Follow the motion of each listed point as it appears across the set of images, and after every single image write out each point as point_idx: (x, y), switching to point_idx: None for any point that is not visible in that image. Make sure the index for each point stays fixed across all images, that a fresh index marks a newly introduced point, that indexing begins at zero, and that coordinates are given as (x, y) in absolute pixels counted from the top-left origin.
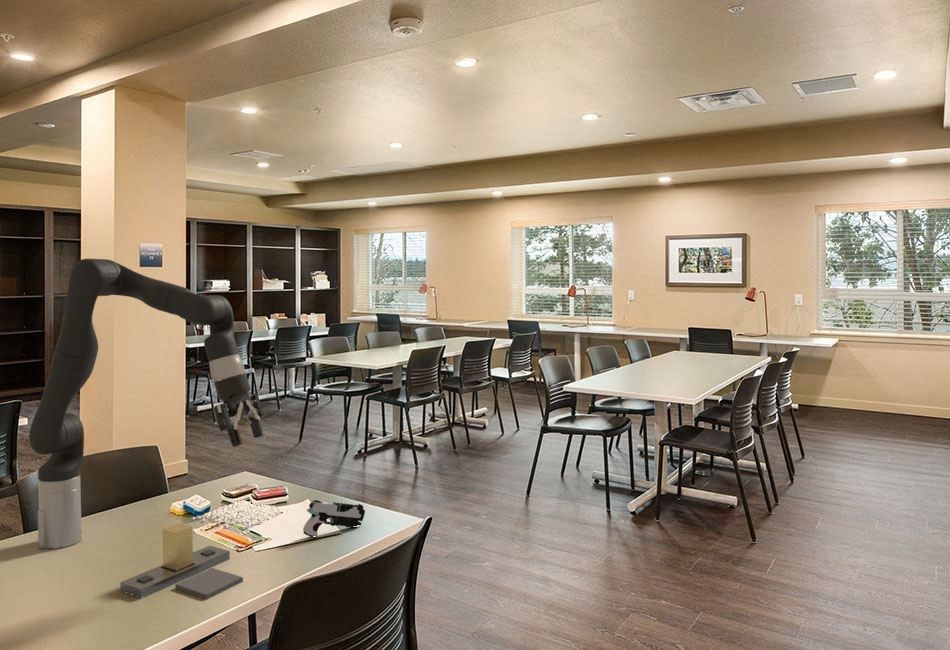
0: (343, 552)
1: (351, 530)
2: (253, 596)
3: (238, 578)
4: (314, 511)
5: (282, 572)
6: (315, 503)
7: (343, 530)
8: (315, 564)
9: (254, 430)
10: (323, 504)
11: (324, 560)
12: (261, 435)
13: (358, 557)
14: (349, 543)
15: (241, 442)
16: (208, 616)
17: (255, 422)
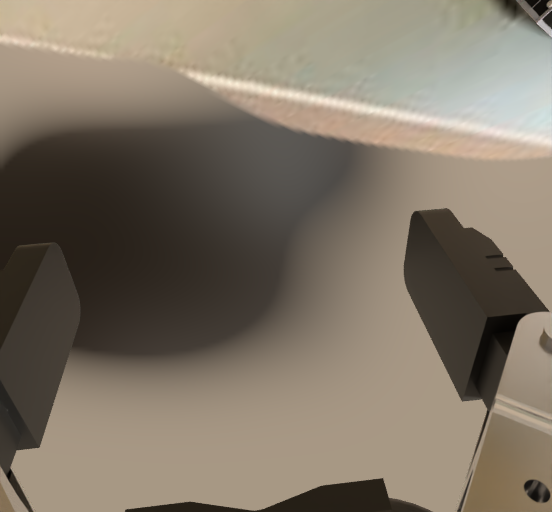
0: (372, 92)
1: None
2: (27, 35)
3: None
4: (518, 1)
5: (194, 15)
6: (537, 19)
7: None
8: (278, 69)
9: (438, 278)
10: (548, 33)
11: (310, 76)
12: (409, 281)
13: (348, 136)
14: (437, 76)
15: (71, 323)
16: None
17: (469, 377)
